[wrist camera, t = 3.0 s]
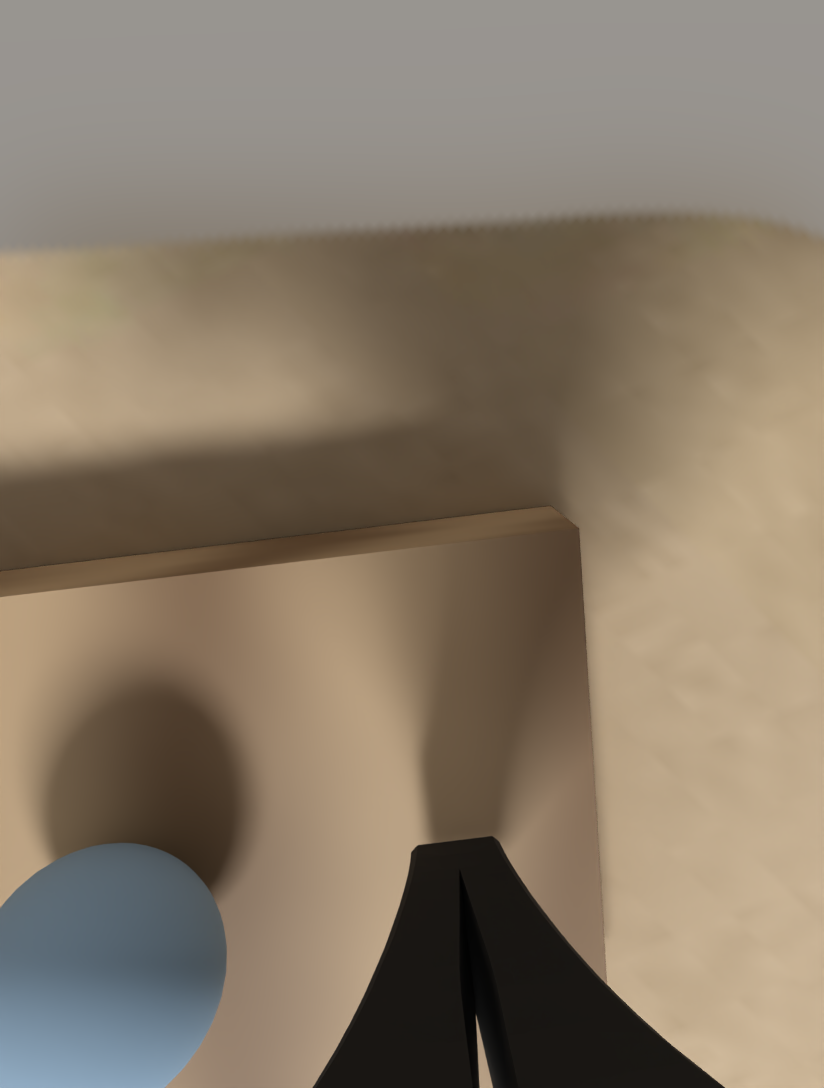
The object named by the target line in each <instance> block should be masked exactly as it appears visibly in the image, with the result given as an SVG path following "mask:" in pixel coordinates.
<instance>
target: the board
mask: <svg viewBox="0 0 824 1088" xmlns="http://www.w3.org/2000/svg"><path fill="white" fill-rule="evenodd" d="M487 836H493V837H494V838H496V839H497V840H498V841H499V842H500V844H501V846H502V848H503V850H504V852H505V854H506V856H507V857H508V859H509V861H510V862H511V864H512V866H513V867H514V869H515V871H516V872H517V874H518V875H519V877H520V878H521V880H522V881H523V883H524V884H525V886H526V887H527V889H528V890H529V892H530V893H531V894H532V896H533V897H534V899H535V900H536V901H537V903H538V904H539V905H540V907H541V908H542V909H543V911H544V912H545V913H546V914H547V916H548V917H549V918H550V920H551V921H552V922H553V924H554V925H555V926H556V927H557V929H558V930H559V931H560V932H561V934H562V935H563V936H564V937H565V938H566V940H567V941H568V942H569V943H570V944H571V946H572V947H573V948H574V949H575V950H576V951H577V952H578V954H579V955H580V956H581V957H582V958H583V959H584V960H585V962H586V963H587V964H588V965H589V966H590V967H591V968H592V969H593V970H594V972H595V973H596V974H597V975H598V976H599V977H600V978H601V979H602V980H603V981H604V982H605V983H606V984H607V976H606V960H605V944H604V927H603V911H602V895H601V878H600V862H599V846H598V830H597V813H596V797H595V781H594V764H593V748H592V732H591V716H590V699H589V683H588V667H587V650H586V634H585V618H584V602H583V585H582V569H581V553H580V536H579V528H578V527H577V526H576V525H574V524H573V523H572V522H570V521H569V520H568V519H567V518H565V517H564V516H563V515H562V514H560V513H559V512H558V511H557V510H555V509H554V508H553V507H551V506H545V507H537V508H529V509H520V510H512V511H503V512H495V513H486V514H478V515H470V516H461V517H453V518H444V519H436V520H428V521H419V522H411V523H402V524H394V525H385V526H377V527H369V528H360V529H352V530H343V531H335V532H326V533H318V534H310V535H301V536H293V537H284V538H276V539H267V540H259V541H251V542H242V543H234V544H225V545H217V546H209V547H200V548H192V549H183V550H175V551H166V552H158V553H150V554H141V555H133V556H124V557H116V558H107V559H99V560H91V561H82V562H74V563H65V564H57V565H49V566H40V567H32V568H23V569H15V570H6V571H0V907H1V906H2V905H3V904H4V903H5V901H6V900H7V899H8V898H9V897H10V896H11V895H12V894H13V892H14V891H15V890H16V889H17V888H19V887H20V886H21V885H22V884H23V883H24V882H25V881H27V880H28V879H29V878H30V877H31V876H33V875H34V874H35V873H36V872H38V871H39V870H41V869H43V868H44V867H46V866H47V865H49V864H51V863H52V862H54V861H56V860H57V859H59V858H61V857H64V856H66V855H68V854H70V853H73V852H76V851H78V850H81V849H84V848H88V847H91V846H96V845H102V844H110V843H135V844H141V845H147V846H150V847H154V848H157V849H160V850H162V851H165V852H167V853H169V854H171V855H173V856H175V857H176V858H178V859H180V860H181V861H182V862H184V863H185V864H187V865H188V866H189V867H190V868H191V869H192V870H193V871H194V872H195V873H196V874H197V875H198V876H199V877H200V879H201V880H202V881H203V882H204V883H205V885H206V886H207V888H208V889H209V891H210V892H211V894H212V896H213V898H214V900H215V902H216V904H217V907H218V909H219V912H220V914H221V918H222V921H223V925H224V930H225V937H226V945H227V963H226V976H225V981H224V986H223V992H222V997H221V1000H220V1003H219V1005H218V1008H217V1011H216V1014H215V1017H214V1020H213V1022H212V1024H211V1026H210V1028H209V1030H208V1032H207V1034H206V1036H205V1038H204V1039H203V1041H202V1043H201V1045H200V1047H199V1048H198V1049H197V1051H196V1052H195V1054H194V1055H193V1056H192V1058H191V1059H190V1060H189V1062H188V1063H187V1064H186V1066H185V1067H184V1068H183V1069H182V1070H181V1072H180V1073H179V1074H178V1075H177V1076H176V1077H175V1078H174V1079H173V1080H172V1081H171V1082H170V1083H169V1084H168V1085H167V1086H166V1087H165V1088H313V1086H314V1085H315V1083H316V1081H317V1080H318V1078H319V1076H320V1075H321V1073H322V1071H323V1070H324V1068H325V1066H326V1065H327V1063H328V1061H329V1060H330V1058H331V1056H332V1055H333V1053H334V1051H335V1050H336V1048H337V1046H338V1044H339V1043H340V1041H341V1039H342V1037H343V1035H344V1033H345V1031H346V1030H347V1028H348V1026H349V1024H350V1022H351V1020H352V1018H353V1016H354V1014H355V1012H356V1010H357V1008H358V1006H359V1004H360V1002H361V1000H362V998H363V996H364V994H365V992H366V990H367V987H368V985H369V983H370V980H371V978H372V976H373V973H374V971H375V969H376V967H377V964H378V962H379V960H380V957H381V955H382V953H383V950H384V948H385V945H386V943H387V940H388V937H389V934H390V931H391V928H392V926H393V923H394V920H395V917H396V914H397V911H398V908H399V905H400V902H401V898H402V895H403V892H404V888H405V884H406V880H407V876H408V871H409V866H410V859H411V852H412V851H413V850H414V848H415V847H416V846H417V845H423V844H431V843H439V842H447V841H455V840H463V839H471V838H479V837H487ZM476 1024H477V1044H478V1064H479V1084H480V1088H493V1086H492V1081H491V1077H490V1073H489V1068H488V1064H487V1060H486V1055H485V1051H484V1047H483V1042H482V1038H481V1034H480V1029H479V1025H478V1021H477V1016H476Z"/></svg>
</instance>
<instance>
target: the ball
mask: <svg viewBox="0 0 824 1088" xmlns="http://www.w3.org/2000/svg"><path fill="white" fill-rule="evenodd" d="M226 963H227V945H226V937H225V930H224V925H223V921H222V918H221V914H220V912H219V909H218V907H217V904H216V902H215V900H214V898H213V896H212V894H211V892H210V891H209V889H208V888H207V886H206V885H205V883H204V882H203V881H202V880H201V879H200V877H199V876H198V875H197V874H196V873H195V872H194V871H193V870H192V869H191V868H190V867H189V866H188V865H187V864H185V863H184V862H182V861H181V860H180V859H178V858H176V857H175V856H173V855H171V854H169V853H167V852H165V851H162V850H160V849H157V848H154V847H150V846H147V845H141V844H135V843H110V844H102V845H96V846H91V847H88V848H84V849H81V850H78V851H76V852H73V853H70V854H68V855H66V856H64V857H61V858H59V859H57V860H56V861H54V862H52V863H51V864H49V865H47V866H46V867H44V868H43V869H41V870H39V871H38V872H36V873H35V874H34V875H33V876H31V877H30V878H29V879H28V880H27V881H25V882H24V883H23V884H22V885H21V886H20V887H19V888H17V889H16V890H15V891H14V892H13V894H12V895H11V896H10V897H9V898H8V899H7V900H6V901H5V903H4V904H3V905H2V906H1V907H0V1088H165V1087H166V1086H167V1085H168V1084H169V1083H170V1082H171V1081H172V1080H173V1079H174V1078H175V1077H176V1076H177V1075H178V1074H179V1073H180V1072H181V1070H182V1069H183V1068H184V1067H185V1066H186V1064H187V1063H188V1062H189V1060H190V1059H191V1058H192V1056H193V1055H194V1054H195V1052H196V1051H197V1049H198V1048H199V1047H200V1045H201V1043H202V1041H203V1039H204V1038H205V1036H206V1034H207V1032H208V1030H209V1028H210V1026H211V1024H212V1022H213V1020H214V1017H215V1014H216V1011H217V1008H218V1005H219V1003H220V1000H221V997H222V992H223V986H224V981H225V976H226Z"/></svg>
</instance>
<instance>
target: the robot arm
mask: <svg viewBox="0 0 824 1088" xmlns="http://www.w3.org/2000/svg"><path fill="white" fill-rule="evenodd" d="M476 1016H477V1021H478V1025H479V1029H480V1034H481V1038H482V1042H483V1047H484V1051H485V1055H486V1060H487V1064H488V1068H489V1073H490V1077H491V1081H492V1086H493V1088H725V1087H723V1086H722V1085H721V1084H720V1083H718V1082H717V1081H716V1080H715V1079H713V1078H712V1077H711V1076H710V1075H708V1074H707V1073H706V1072H705V1071H703V1070H702V1069H701V1068H700V1067H698V1066H697V1065H696V1064H695V1063H693V1062H692V1061H691V1060H690V1059H688V1058H687V1057H686V1056H685V1055H683V1054H682V1053H681V1052H680V1051H678V1050H677V1049H676V1048H675V1047H673V1046H672V1045H671V1044H670V1043H668V1042H667V1041H666V1040H665V1039H664V1038H663V1037H662V1036H660V1035H659V1034H658V1033H657V1032H656V1031H655V1030H654V1029H653V1028H652V1027H651V1026H649V1025H648V1024H647V1023H646V1022H645V1021H644V1020H643V1019H642V1018H641V1017H639V1016H638V1015H637V1014H636V1013H635V1012H634V1011H633V1010H632V1009H631V1008H630V1007H629V1006H628V1005H627V1004H626V1003H625V1002H624V1001H623V1000H622V999H621V998H620V997H619V996H618V995H617V994H616V993H615V992H614V991H613V990H612V989H611V988H610V987H609V986H608V985H607V984H606V983H605V982H604V981H603V980H602V979H601V978H600V977H599V976H598V975H597V974H596V973H595V972H594V970H593V969H592V968H591V967H590V966H589V965H588V964H587V963H586V962H585V960H584V959H583V958H582V957H581V956H580V955H579V954H578V952H577V951H576V950H575V949H574V948H573V947H572V946H571V944H570V943H569V942H568V941H567V940H566V938H565V937H564V936H563V935H562V934H561V932H560V931H559V930H558V929H557V927H556V926H555V925H554V924H553V922H552V921H551V920H550V918H549V917H548V916H547V914H546V913H545V912H544V911H543V909H542V908H541V907H540V905H539V904H538V903H537V901H536V900H535V899H534V897H533V896H532V894H531V893H530V892H529V890H528V889H527V887H526V886H525V884H524V883H523V881H522V880H521V878H520V877H519V875H518V874H517V872H516V871H515V869H514V867H513V866H512V864H511V862H510V861H509V859H508V857H507V856H506V854H505V852H504V850H503V848H502V846H501V844H500V842H499V841H498V840H497V839H496V838H494V837H493V836H487V837H479V838H471V839H463V840H455V841H447V842H439V843H431V844H423V845H417V846H416V847H415V848H414V850H413V851H412V852H411V859H410V866H409V871H408V876H407V880H406V884H405V888H404V892H403V895H402V898H401V902H400V905H399V908H398V911H397V914H396V917H395V920H394V923H393V926H392V928H391V931H390V934H389V937H388V940H387V943H386V945H385V948H384V950H383V953H382V955H381V957H380V960H379V962H378V964H377V967H376V969H375V971H374V973H373V976H372V978H371V980H370V983H369V985H368V987H367V990H366V992H365V994H364V996H363V998H362V1000H361V1002H360V1004H359V1006H358V1008H357V1010H356V1012H355V1014H354V1016H353V1018H352V1020H351V1022H350V1024H349V1026H348V1028H347V1030H346V1031H345V1033H344V1035H343V1037H342V1039H341V1041H340V1043H339V1044H338V1046H337V1048H336V1050H335V1051H334V1053H333V1055H332V1056H331V1058H330V1060H329V1061H328V1063H327V1065H326V1066H325V1068H324V1070H323V1071H322V1073H321V1075H320V1076H319V1078H318V1080H317V1081H316V1083H315V1085H314V1086H313V1088H480V1084H479V1064H478V1044H477V1024H476Z"/></svg>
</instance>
